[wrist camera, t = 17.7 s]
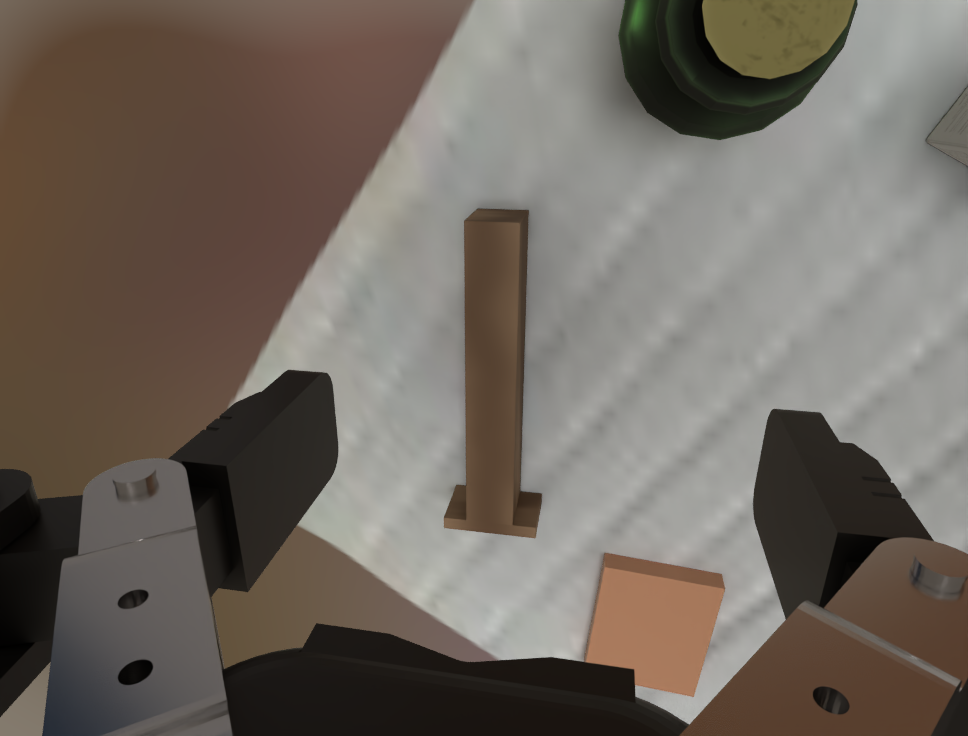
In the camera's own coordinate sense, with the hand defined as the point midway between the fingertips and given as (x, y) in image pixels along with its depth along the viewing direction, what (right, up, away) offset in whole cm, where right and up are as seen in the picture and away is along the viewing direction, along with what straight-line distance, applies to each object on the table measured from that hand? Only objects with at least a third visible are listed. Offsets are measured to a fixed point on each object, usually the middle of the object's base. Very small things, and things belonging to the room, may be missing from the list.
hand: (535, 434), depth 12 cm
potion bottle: (+10, +18, +22) cm, 30 cm away
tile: (+11, -13, +33) cm, 38 cm away
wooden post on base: (0, +1, +31) cm, 31 cm away
